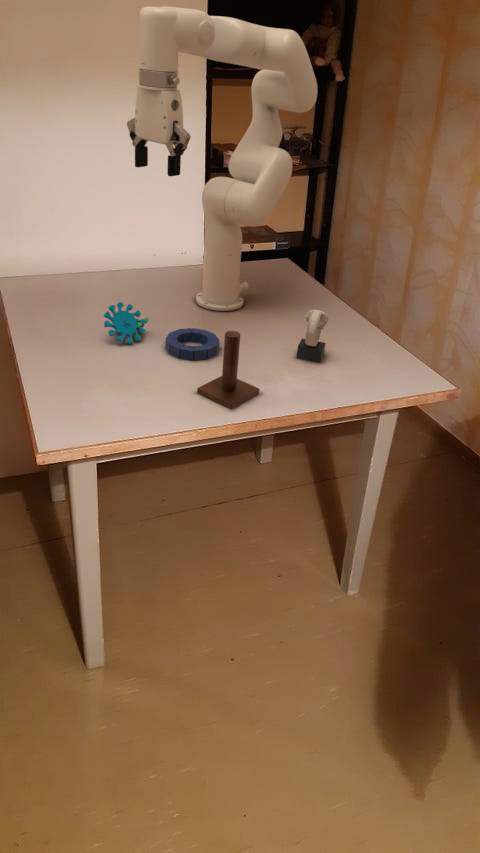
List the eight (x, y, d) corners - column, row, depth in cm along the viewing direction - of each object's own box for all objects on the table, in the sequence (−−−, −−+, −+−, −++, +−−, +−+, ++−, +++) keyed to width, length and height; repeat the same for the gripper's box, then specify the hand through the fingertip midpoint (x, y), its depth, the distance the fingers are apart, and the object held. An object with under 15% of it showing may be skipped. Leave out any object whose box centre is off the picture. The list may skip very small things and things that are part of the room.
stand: (225, 378, 141) (229, 320, 134) (259, 393, 137) (265, 334, 130) (197, 393, 135) (199, 333, 128) (231, 409, 131) (236, 348, 124)
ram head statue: (325, 351, 156) (332, 307, 150) (318, 366, 150) (325, 320, 144) (301, 347, 157) (307, 303, 151) (294, 361, 151) (300, 315, 145)
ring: (190, 333, 159) (191, 324, 158) (228, 349, 153) (229, 339, 152) (155, 347, 151) (155, 338, 150) (194, 365, 145) (194, 355, 144)
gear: (111, 343, 148) (101, 301, 149) (101, 352, 153) (92, 312, 154) (155, 340, 154) (145, 300, 156) (145, 350, 159) (135, 311, 160)
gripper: (203, 85, 131) (199, 177, 140) (141, 75, 139) (141, 161, 148) (176, 86, 125) (174, 181, 134) (114, 75, 134) (116, 165, 143)
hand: (157, 170), depth 141 cm, fingers open, 9 cm apart
